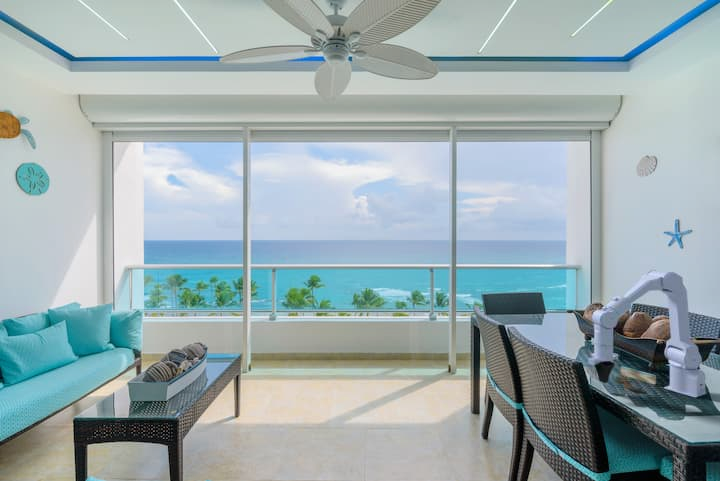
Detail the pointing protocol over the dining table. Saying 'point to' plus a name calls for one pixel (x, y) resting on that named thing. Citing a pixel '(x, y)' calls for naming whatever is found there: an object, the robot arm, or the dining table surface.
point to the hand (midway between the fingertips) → (603, 381)
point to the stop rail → (638, 375)
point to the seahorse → (628, 384)
